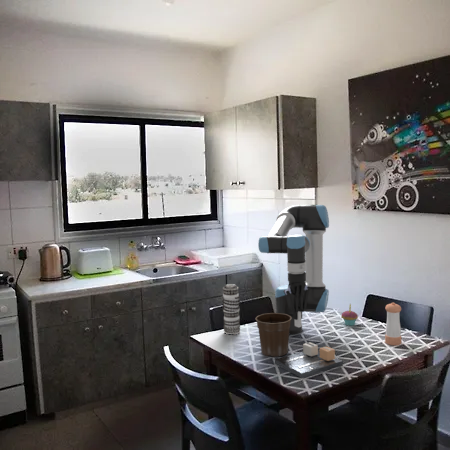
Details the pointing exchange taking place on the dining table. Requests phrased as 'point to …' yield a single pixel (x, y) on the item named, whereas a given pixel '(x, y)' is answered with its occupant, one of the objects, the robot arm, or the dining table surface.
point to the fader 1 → (310, 349)
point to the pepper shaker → (393, 325)
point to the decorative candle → (231, 309)
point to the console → (306, 364)
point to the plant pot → (274, 333)
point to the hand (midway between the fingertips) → (298, 326)
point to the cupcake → (349, 317)
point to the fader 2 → (327, 353)
